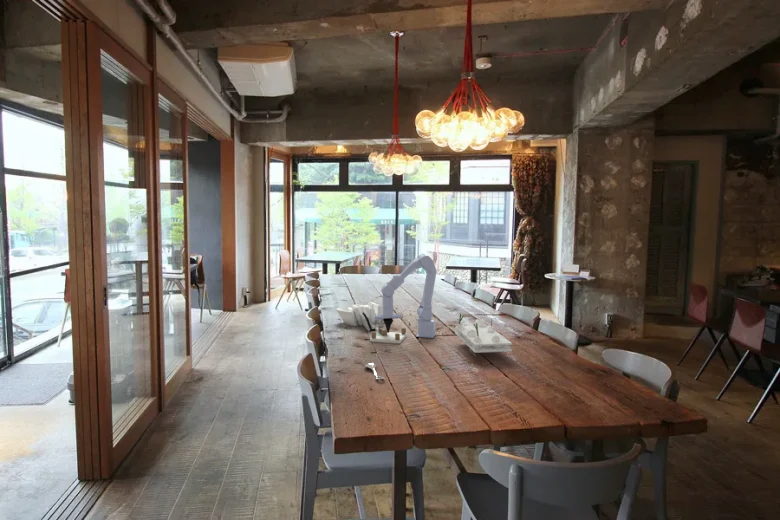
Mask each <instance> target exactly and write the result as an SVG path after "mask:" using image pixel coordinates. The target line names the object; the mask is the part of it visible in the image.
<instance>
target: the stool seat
mask: <svg viewBox="0 0 780 520" xmlns="http://www.w3.org/2000/svg"><path fill="white" fill-rule="evenodd" d="M407 337H408V333H407V328H406V327H401V332H396V331H395V332H393V331H389V333H388V332H387V335H382V334H381V333H380V332H378V331H371V337H370V338H369V342H374V343H375V342H376V343H377V342H378V343H387V344H401V343H402V342H403V341H404V340H405V339H406V338H407Z"/></svg>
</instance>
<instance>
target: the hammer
mask: <svg viewBox="0 0 780 520" xmlns="http://www.w3.org/2000/svg"><path fill="white" fill-rule="evenodd" d="M384 326H385V325H378V329H377V330H378V331H377V332H380V333H381V334H382V335H387V329H386V327H384Z"/></svg>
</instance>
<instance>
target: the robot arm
mask: <svg viewBox="0 0 780 520" xmlns="http://www.w3.org/2000/svg"><path fill="white" fill-rule="evenodd" d="M434 262H435V261H434V260H433V258H431V257H430V256H429V255H425V254H423V253H422V254H418V255H417V256H416V257H415V258H414V259H413V260H412V261H411V262H409V264H408V266H406V268H404V269H403V270H402V272H401V273H399V274H395V275H393V276H392V278H391V279H390V280H389V281H387V282H386V284H384V285H383V286H382V287H381V289H380V291H381V293H382V301H381V303H382V305H381V306H382V309H383V315H378V316H374V319H375V320H380V319H383V321H384V323H383V324H384V326H385V329H387V332H388V333H389V332H390V330H391V328H392V327H391V326H392V323H393V322H394V319H400V320H401V319H402V314H400V313H399V314H397V313H395V314H394V294H395V291H396V290H397V289H398V288H400V287H401V286H402V285H403V284H404V282H405V278H407V277H408V276H409V275H410V274H411V273H412V272H414V271H415V270H416V269H418V270H419V269H423V271H425V272H426V277H425V281H424V286H423V292H422V298H421V302H420V303H419V307H418V308H417V310H416V313H417V315H418V318H417V334H416V335H415V337H416V338H417V337H418V338H429V339H431V338H432V339H434V338H435V337H436V333H437V332H436V329H437V328H436V327H437V326H436V320H435V319H434V320H433V319H432V317H433V311H432V309H433V306H432V300H433V295H434V288H435V283H436V282H435V281H436V277H437V267H436V266H435V263H434Z"/></svg>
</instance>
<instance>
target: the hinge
mask: <svg viewBox="0 0 780 520" xmlns="http://www.w3.org/2000/svg"><path fill="white" fill-rule="evenodd" d="M359 315H360V318H361V321H362V323H363V325H362V326H364V328H365V329H366V331H368V332H370V331H371V330H375V331H377V327H376V326H375V324H372V322H371V319H370V317H369V315H368V314H367V313H366V312H363V313H360V314H359Z"/></svg>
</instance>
